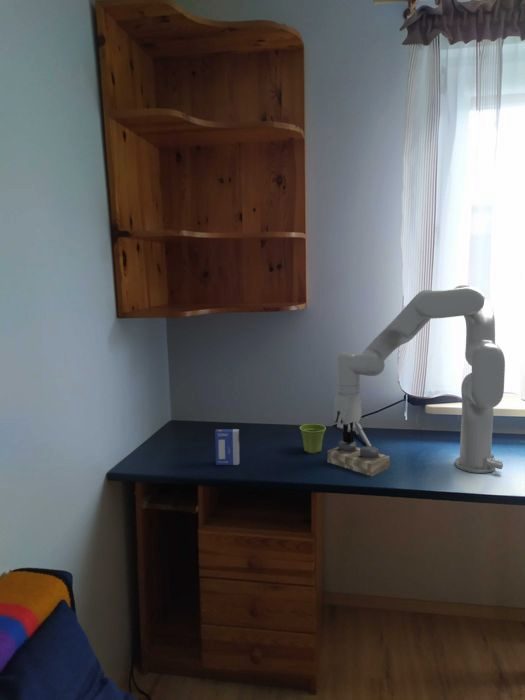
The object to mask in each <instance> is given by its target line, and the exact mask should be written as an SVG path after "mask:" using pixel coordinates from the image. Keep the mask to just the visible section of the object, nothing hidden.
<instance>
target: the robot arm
mask: <svg viewBox="0 0 525 700" xmlns="http://www.w3.org/2000/svg"><path fill="white" fill-rule="evenodd" d="M454 317H464V320H465V321H464V322H465V327H466V328H465V329H466V330H465V331H466V332H465V334H466V335H465V351H464V353H465V356H464V357H465V360H466V362H467V363H468V365H469V366H471V372H470V373H468V374H467V375H466V376H465V377H464V378H463V380H462V383H461V387H460V388H461V421H460V422H461V423H460V424H461V425H460V438H459V439H460V440H459V441H460V442H459V443H460V444H459V457H456V458H455V459H454V463H453V464H454V466H455V467H456V468H457V469H459V470H462V471H465V472H469V473H474V474H475V473H476V474H488V473H489V474H490V473H492V472H494V471H495V470H496V469H498V470H502V469H503V467H504V464H503V461H501V460H496V459H495V455H494V454H492V442H493V426H494V425H493V423H494V408H495V407H497V406H498V405H499V404H500V403H501V401H502V399H503V397H504V392H505V375H506V372H505V371H506V361H505V355H504V352H503V351H502V349H501V347H500V346H498V345H496V321H495V320H496V319H495V315H494V311H493V309H492V306H491V305H490V303H489V301H488V300H487V298H486V297H485V294H484V293H483V291H482V290H481V289H479V288H478V287H475V286H471V285H466V284H465V285H463V284H462V285H457V286H456V287H454V288H451V289H441V290H440V289H439V290H432V289H424V290H422V291H419V292H418V293H417V294H416V295H414V297H413V298H412V299H411V300H410V301H409V302H408V303H407V305H406V306H404V308H403V309H402V310H401V311H400V312H399V314H398V315H396V317H394V319H393V320H392V321H391V322H390V323H389V324H388V325H387V326H386V327H385V328H384V329H383V330H382V331H381V332H380V333H379V334H378V335H376V337H375V338H374V339H373V340H372V341H371V342H370V343H369V345H368V346H367V347H366V348H365V349H364V350H363V352H362V353H361V354H360V353H358V352H355V351H342V352H339V353H338V354H337V356H336V357H337V358H336V359H337V360H336V362H337V363H336V365H337V366H336V367H337V368H336V374H337V376H336V380H337V381H336V384H337V385H336V388H337V389H336V390H337V391H336V394H335V397H334V404H333V422H334V423H336V428H337V429H341V431H342V440H343V441H344V442H347V443H352V442H355V441H354V437H355V425H356V424H357V423H358V422H359V423H360V419H362V409H363V408H362V406H363V405H362V396H361V376H368V377H376V376H379V375H381V374H382V372H383V371H384V369H385V360H387V358H388V357H389V356H390V355H391V354H392V353H394V352H395V350H396V349H398V348H399V347H401V346H402V345H405V344H406V343H409V342H410V341H411V340H413V339H414V337H415V336H417V334H418V333H419V332H420V331H421V329H423V328H424V326H425V325H426V324H428V322H429V321H431V319H434V320H435V319H445V318H454Z"/></svg>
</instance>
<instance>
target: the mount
mask: <svg viewBox="0 0 525 700" xmlns="http://www.w3.org/2000/svg"><path fill="white" fill-rule="evenodd" d="M360 448H361V447H359V446H356V450H355V451H354V453H351V454H346V453H343V452H340V450H339V449H338V446H337V447H333V448H331V449H328V450H327V456H326V457H327V463H329V464H332V465H335V466H339V467H341V468H344V469H347V468H348V470H350V469H351V471H354V472H357V473H360V474H363V475H366V476H369V475H370V476H369V477H374V476H375V475H378V474H380V473H382V472H384V471H386V470H388V469H390V461H391V460H390V457H391V456H389V455H385V454H383V453H379V456H378V457H377V459H375V460H373V461H369V460H366V459H363V458H362V456H360Z"/></svg>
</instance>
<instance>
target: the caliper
mask: <svg viewBox="0 0 525 700" xmlns="http://www.w3.org/2000/svg"><path fill="white" fill-rule="evenodd" d="M355 432H356V433H355ZM354 433H355V435H358V436H360V437H361V438H362V439H363V442H364V443H365V445H366V446H371V447H373V445H372V444H371V442H370V440H369V439H368V437H367V435H366V433H365V432H364V430H363V427H362V425H361V423H360V421H359V422H358V423H357V424H356V425H355V430H354Z"/></svg>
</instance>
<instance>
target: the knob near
mask: <svg viewBox="0 0 525 700" xmlns="http://www.w3.org/2000/svg"><path fill="white" fill-rule="evenodd" d="M359 448H360V456H362V458H363V459H366V460H369V461H373V460H375V459H377V457H378V456H379V454H380V450H379V448H378V447H376V446H372V447H371V446H367V445H366V446H361V447H359Z"/></svg>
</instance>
